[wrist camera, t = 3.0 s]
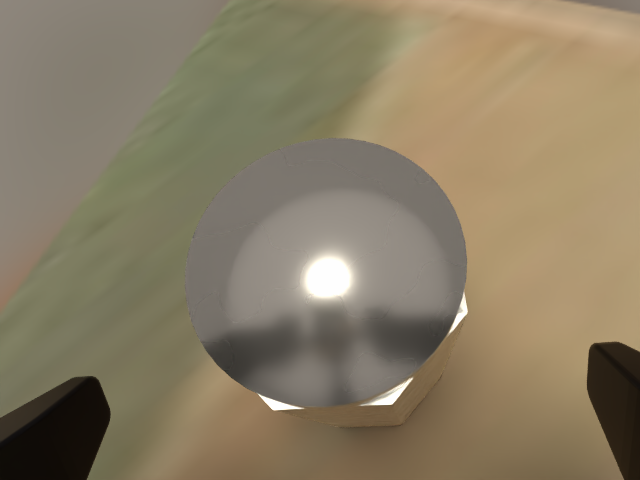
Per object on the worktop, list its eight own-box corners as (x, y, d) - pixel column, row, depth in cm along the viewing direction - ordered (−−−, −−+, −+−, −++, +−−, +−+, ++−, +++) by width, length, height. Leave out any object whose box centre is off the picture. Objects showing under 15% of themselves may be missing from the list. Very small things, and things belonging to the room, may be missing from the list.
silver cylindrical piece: (373, 462, 16) (326, 482, 7) (268, 357, 19) (133, 274, 10) (469, 344, 17) (529, 236, 8) (358, 257, 20) (313, 98, 11)
